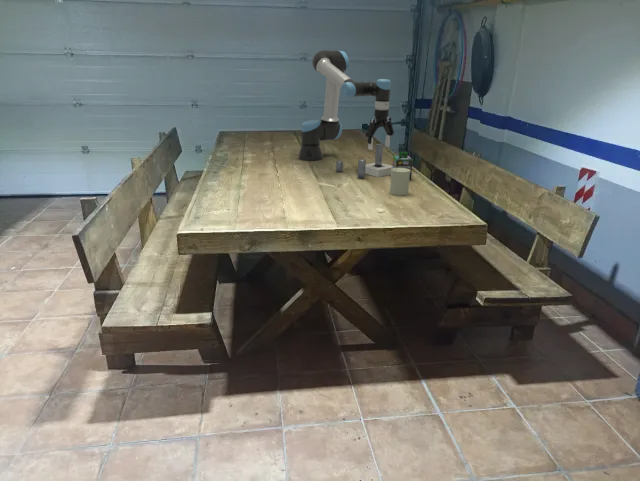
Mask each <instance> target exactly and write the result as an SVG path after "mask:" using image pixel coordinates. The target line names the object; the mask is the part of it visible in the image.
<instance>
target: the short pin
mask: <svg viewBox="0 0 640 481" xmlns="http://www.w3.org/2000/svg"><path fill="white" fill-rule="evenodd" d="M343 172H344V161H343V160H336V161H335V173H341V174H342V173H343Z"/></svg>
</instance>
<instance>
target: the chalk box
mask: <svg viewBox="0 0 640 481" xmlns="http://www.w3.org/2000/svg"><path fill="white" fill-rule="evenodd" d="M408 154H409V152H408V151H399V155H394V156H392V166H393V167H392V169H393V168H407V169H409V170H410V177H409V181H411V180H412V174H413V173H412V172H413V161H414V160H413V158H412V157H411V156H409V155H408Z"/></svg>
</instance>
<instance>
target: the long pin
mask: <svg viewBox="0 0 640 481" xmlns="http://www.w3.org/2000/svg"><path fill="white" fill-rule="evenodd" d="M374 153H375V157H374V163H375V167H378V168H379V167H382V163H383V155H384V154H383V153H384V144H381V143H378V144H377V143H376V144H375V152H374Z"/></svg>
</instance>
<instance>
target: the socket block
mask: <svg viewBox="0 0 640 481" xmlns="http://www.w3.org/2000/svg"><path fill="white" fill-rule="evenodd" d="M392 167H393V165H390V164H386V163H383V162H382V167H379V168H378V167H375V162H373V163H366V166H365V175H370V176H373V177H376V178H380V177H385V176H391V169H392Z"/></svg>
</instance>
